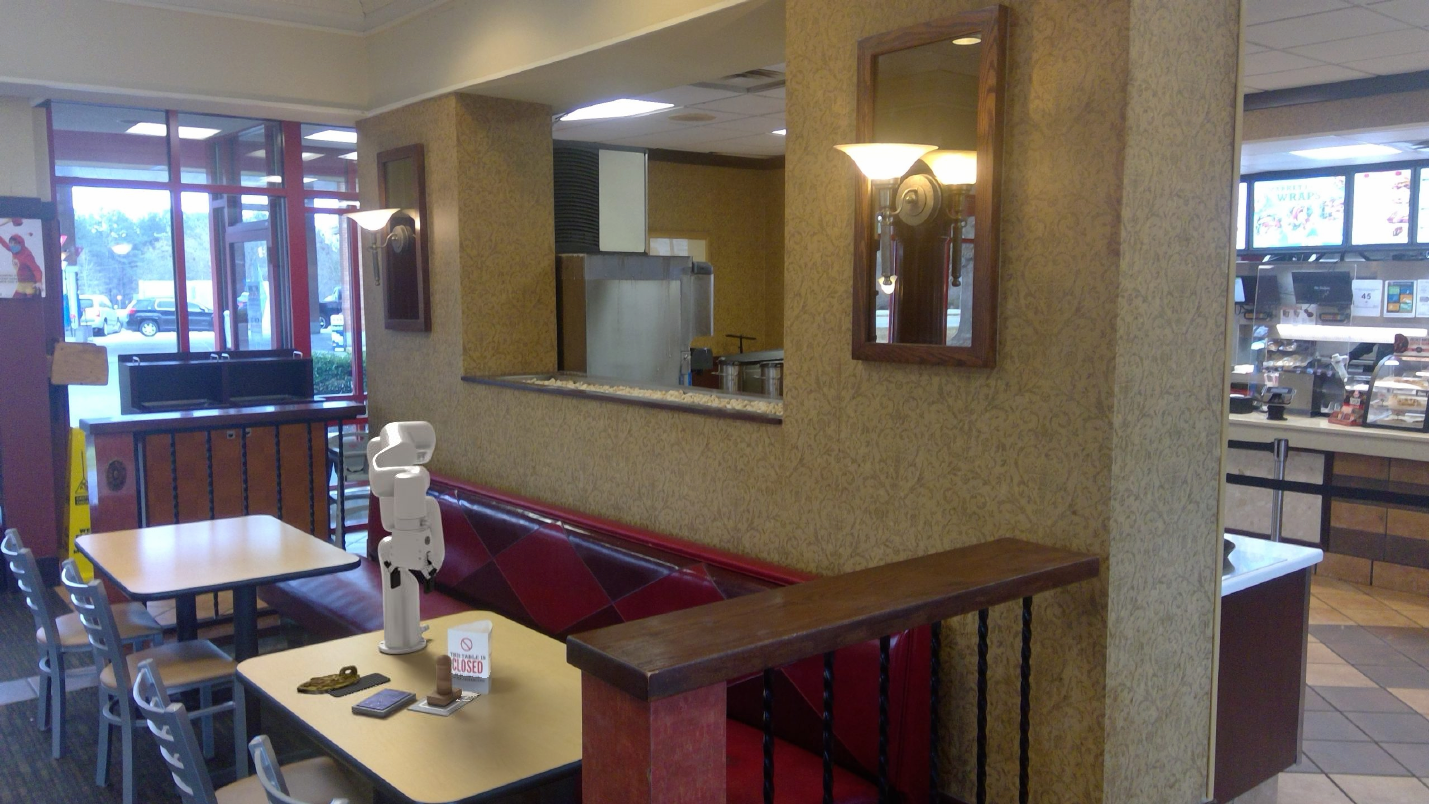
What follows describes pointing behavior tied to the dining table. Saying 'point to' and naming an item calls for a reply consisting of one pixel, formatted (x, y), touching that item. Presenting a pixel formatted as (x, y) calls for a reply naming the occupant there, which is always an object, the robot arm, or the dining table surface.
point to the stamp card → (431, 709)
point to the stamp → (444, 684)
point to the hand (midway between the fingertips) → (412, 589)
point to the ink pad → (383, 703)
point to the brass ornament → (330, 681)
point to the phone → (361, 684)
